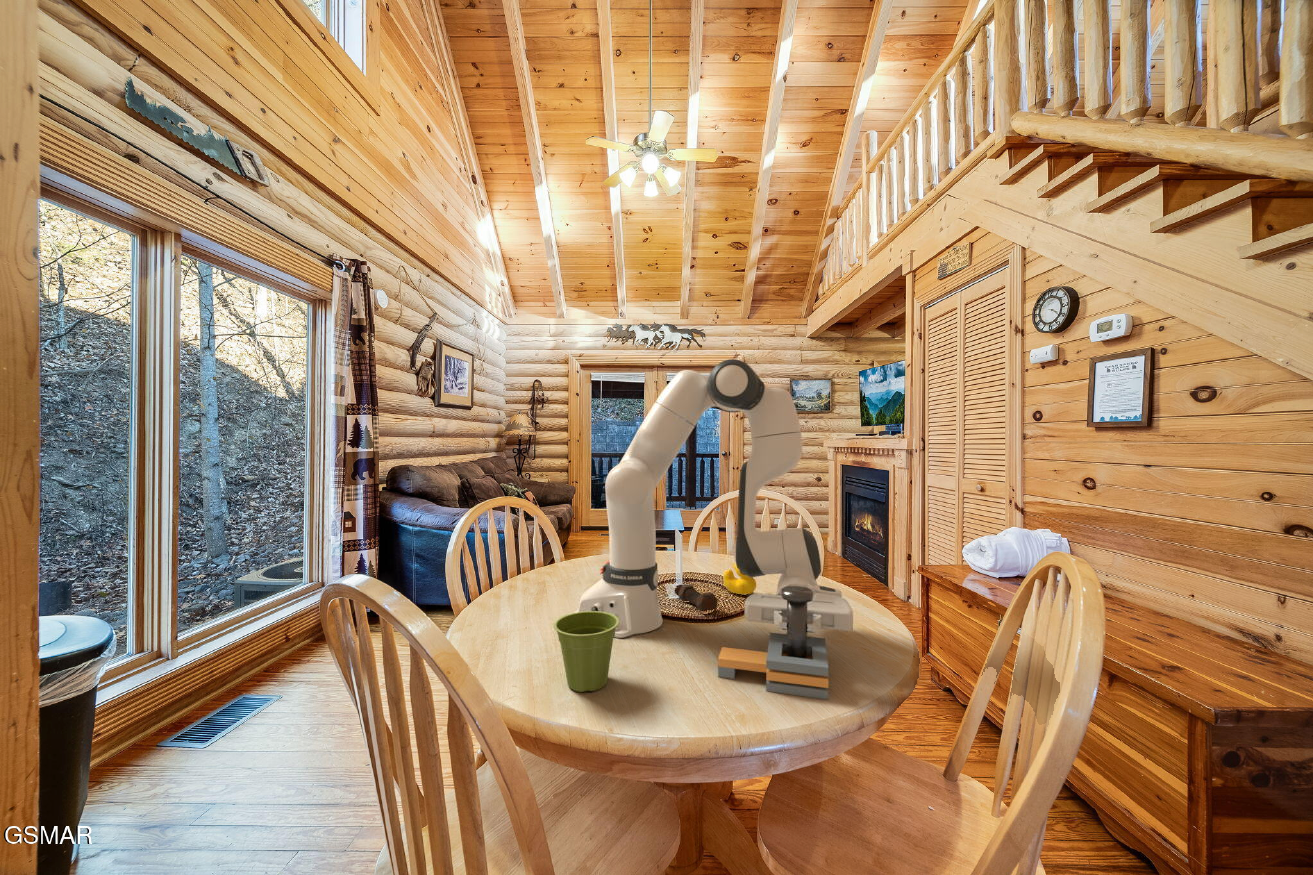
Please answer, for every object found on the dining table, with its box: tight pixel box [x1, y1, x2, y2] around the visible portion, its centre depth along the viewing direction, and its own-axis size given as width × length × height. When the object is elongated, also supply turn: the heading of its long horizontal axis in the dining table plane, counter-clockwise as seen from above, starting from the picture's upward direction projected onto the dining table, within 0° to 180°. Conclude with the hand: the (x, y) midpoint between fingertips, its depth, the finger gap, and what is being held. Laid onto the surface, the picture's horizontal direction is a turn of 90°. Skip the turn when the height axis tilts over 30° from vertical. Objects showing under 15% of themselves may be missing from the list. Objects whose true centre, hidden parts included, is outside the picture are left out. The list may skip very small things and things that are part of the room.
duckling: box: [722, 562, 757, 595], centre depth 139 cm, size 11×5×10 cm, turn 61°
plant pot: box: [553, 611, 619, 693], centre depth 92 cm, size 12×12×11 cm
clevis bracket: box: [717, 632, 829, 701], centre depth 94 cm, size 19×12×6 cm, turn 74°
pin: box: [781, 586, 813, 659], centre depth 92 cm, size 6×6×14 cm
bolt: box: [674, 584, 719, 612], centre depth 132 cm, size 6×5×15 cm
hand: (797, 627), depth 91 cm, fingers closed on pin, 4 cm apart
